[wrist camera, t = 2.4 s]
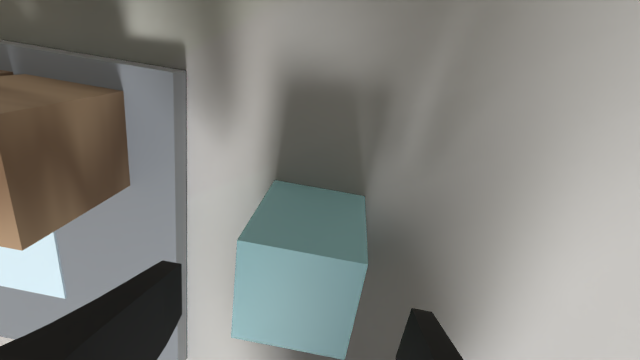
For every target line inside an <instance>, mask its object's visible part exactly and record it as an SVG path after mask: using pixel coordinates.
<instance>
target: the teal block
mask: <svg viewBox="0 0 640 360" xmlns="http://www.w3.org/2000/svg"><path fill="white" fill-rule="evenodd" d="M367 267H368V252H367V231H366V210H365V196H361V195H355V194H350V193H344V192H339V191H333V190H328V189H322V188H316V187H311V186H305V185H300V184H294V183H289V182H283V181H277V180H274V182H273V184H272V185H271V187H270V188H269V190H268V192H267V193H266V195H265V196H264V198H263V200H262V201H261V203H260V204H259V206H258V208H257V209H256V211H255V212H254V214H253V216H252V217H251V219H250V220H249V222H248V224H247V225H246V227H245V228H244V230H243V232H242V233H241V235H240V236H239V238H238V240H237V252H236V268H235V284H234V300H233V316H232V331H231V338H236V339H241V340H246V341H251V342H256V343H261V344H266V345H271V346H276V347H281V348H286V349H291V350H296V351H301V352H306V353H311V354H316V355H321V356H326V357H331V358H336V359H341V360H345V357H346V353H347V349H348V345H349V341H350V336H351V332H352V328H353V324H354V320H355V316H356V312H357V308H358V304H359V300H360V296H361V292H362V288H363V283H364V279H365V275H366V271H367Z"/></svg>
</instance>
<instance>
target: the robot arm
mask: <svg viewBox="0 0 640 360" xmlns="http://www.w3.org/2000/svg"><path fill="white" fill-rule="evenodd" d="M181 316H182V264H180V263H174V262H169V261H164V260H162V261H161V262H159V263H157V264H155V265H153V266H152V267H150V268H148V269H147V270H145V271H143V272H141V273H140V274H138V275H136V276H135V277H133V278H131V279H130V280H128V281H126V282H125V283H123V284H121V285H119V286H118V287H116V288H114V289H112V290H111V291H109V292H107V293H105V294H104V295H102V296H100V297H98V298H97V299H95V300H93V301H91V302H89V303H88V304H86V305H84V306H82V307H80V308H78V309H76V310H74V311H72V312H71V313H69V314H67V315H65V316H63V317H61V318H59V319H57V320H55V321H54V322H52V323H50V324H48V325H46V326H43V327H41V328H39V329H37V330H35V331H33V332H31V333H29V334H27V335H25V336H22V337H20V338H18V339H16V340H13V341H11V342H9V343H7V344H5V345H2V346H0V360H157V359H158V357H159V356H160V354H161V353H162V351H163V350H164V348H165V347H166V345H167V343H168V341H169V339H170V337H171V335H172V334H173V332H174V330H175V328H176V326H177V324H178V322H179V320H180V318H181ZM396 360H463V358H462V357H461V355H460V354H459V352H458V351H457V349H456V348H455V346H454V345H453V343H452V342H451V340H450V339H449V337H448V336H447V334H446V333H445V331H444V330H443V328H442V327H441V325H440V323H439V322H438V320H437V319H436V317H435V316H434V314H433V313H432V312H429V311H424V310H418V309H413V308H412V309H411V312H410V315H409V318H408V321H407V324H406V327H405V330H404V333H403V336H402V339H401V343H400V346H399V349H398V352H397V355H396Z"/></svg>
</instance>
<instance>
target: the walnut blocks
mask: <svg viewBox="0 0 640 360" xmlns="http://www.w3.org/2000/svg"><path fill="white" fill-rule="evenodd" d="M129 186H130V174H129V161H128V147H127V133H126V119H125V105H124V92H123V91H120V90H115V89H109V88H103V87H97V86H91V85H86V84H80V83H74V82H68V81H62V80H57V79H51V78H45V77H39V76H33V75H27V74H20V75H13V72H10V71H4V70H0V246H1V247H6V248H11V249H16V250H21V251H23V250H24V249H26V248H28V247H29V246H31V245H33V244H34V243H36V242H38V241H39V240H41V239H43V238H44V237H46V236H48V235H49V234H51V233H53V232H54V231H56V230H58V229H59V228H61V227H63V226H64V225H66V224H67V223H69V222H71V221H72V220H74V219H76V218H77V217H79V216H81V215H82V214H84V213H86V212H87V211H89V210H91V209H92V208H94V207H96V206H97V205H99V204H101V203H102V202H104V201H106V200H107V199H109V198H111V197H112V196H114V195H115V194H117V193H119V192H120V191H122V190H124V189H125V188H127V187H129Z"/></svg>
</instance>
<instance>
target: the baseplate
mask: <svg viewBox="0 0 640 360" xmlns="http://www.w3.org/2000/svg"><path fill="white" fill-rule="evenodd" d="M0 70H4V71H10V72H13V75H20V74H27V75H33V76H39V77H45V78H51V79H57V80H62V81H68V82H74V83H80V84H86V85H91V86H97V87H103V88H109V89H115V90H120V91H123V92H124V105H125V119H126V133H127V147H128V161H129V174H130V186H129V187H127V188H125V189H124V190H122V191H120V192H119V193H117V194H115V195H114V196H112V197H111V198H109V199H107V200H106V201H104V202H102V203H101V204H99V205H97V206H96V207H94V208H92V209H91V210H89V211H87V212H86V213H84V214H82V215H81V216H79V217H77V218H76V219H74V220H72V221H71V222H69V223H67V224H66V225H64V226H63V227H61V228H59V229H58V230H56V231H54V232H53V233H51V234H49V235H48V236H46V237H44V238H43V239H41V240H39V241H38V242H36V243H34V244H33V245H31V246H29V247H28V248H26V249H24V250H23V251H21V250H16V249H11V248H6V247H1V246H0V336H1V337H6V338H11V339H15V340H16V339H18V338H20V337H22V336H25V335H27V334H29V333H31V332H33V331H35V330H37V329H39V328H41V327H43V326H46V325H48V324H50V323H52V322H54V321H55V320H57V319H59V318H61V317H63V316H65V315H67V314H69V313H71V312H72V311H74V310H76V309H78V308H80V307H82V306H84V305H86V304H88V303H89V302H91V301H93V300H95V299H97V298H98V297H100V296H102V295H104V294H105V293H107V292H109V291H111V290H112V289H114V288H116V287H118V286H119V285H121V284H123V283H125V282H126V281H128V280H130V279H131V278H133V277H135V276H136V275H138V274H140V273H141V272H143V271H145V270H147V269H148V268H150V267H152V266H153V265H155V264H157V263H159V262H161V261H162V260H164V261H169V262H174V263H180V264H182V316H181V318H180V320H179V322H178V324H177V326H176V328H175V330H174V332H173V334H172V335H171V337H170V339H169V341H168V343H167V345H166V347H165V348H164V350H163V351H162V353H161V354H160V356H159V357H158V359H157V360H186V359H187V227H186V71H184V70H178V69H172V68H166V67H160V66H154V65H148V64H142V63H136V62H130V61H124V60H119V59H113V58H107V57H101V56H95V55H89V54H83V53H77V52H71V51H65V50H59V49H53V48H47V47H41V46H35V45H29V44H23V43H17V42H12V41H6V40H0Z"/></svg>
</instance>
